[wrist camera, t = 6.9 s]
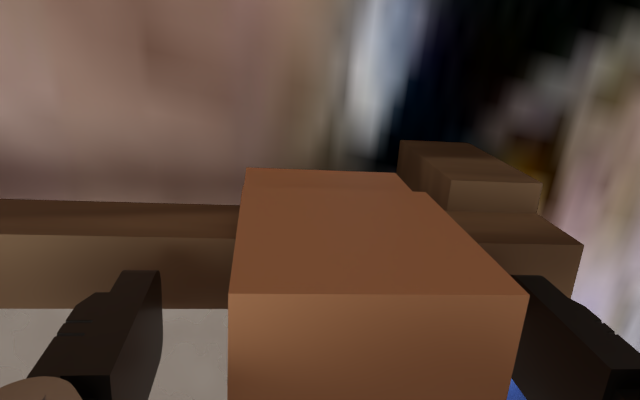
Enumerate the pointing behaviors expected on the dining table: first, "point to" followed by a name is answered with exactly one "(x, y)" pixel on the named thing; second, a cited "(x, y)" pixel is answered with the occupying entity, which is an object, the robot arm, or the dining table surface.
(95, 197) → the dining table surface
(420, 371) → the block
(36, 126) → the dining table surface
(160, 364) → the bolt plate
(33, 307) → the beam
